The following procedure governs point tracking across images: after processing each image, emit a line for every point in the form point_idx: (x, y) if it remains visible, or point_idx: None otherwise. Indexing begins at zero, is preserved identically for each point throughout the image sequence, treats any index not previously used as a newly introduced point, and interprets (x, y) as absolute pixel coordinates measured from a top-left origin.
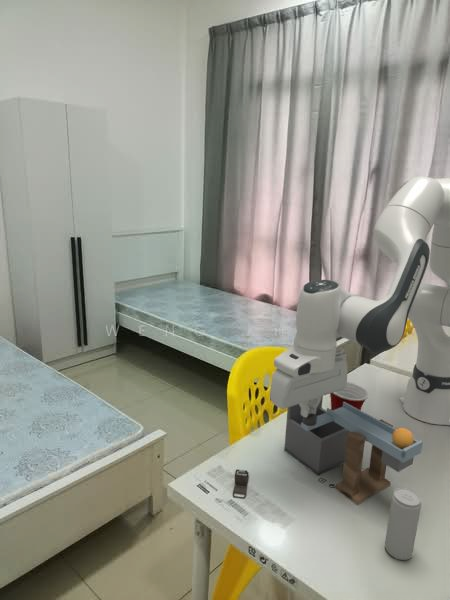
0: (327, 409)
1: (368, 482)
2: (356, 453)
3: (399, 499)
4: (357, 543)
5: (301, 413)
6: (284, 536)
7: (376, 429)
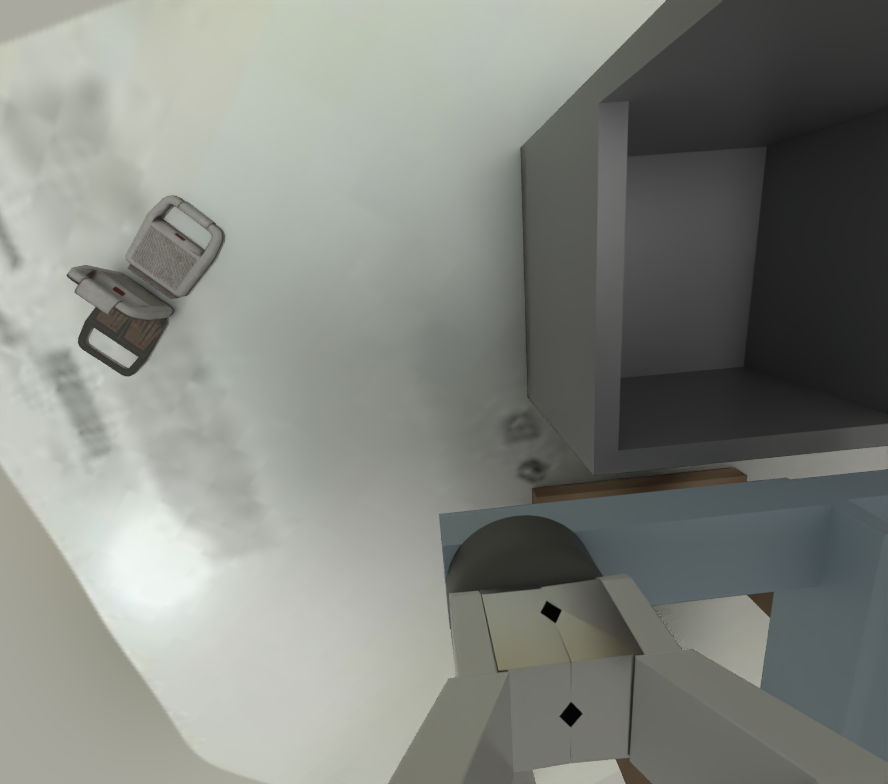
0: (871, 539)
1: None
2: (619, 763)
3: None
4: (403, 688)
5: (450, 614)
6: (195, 589)
7: None
